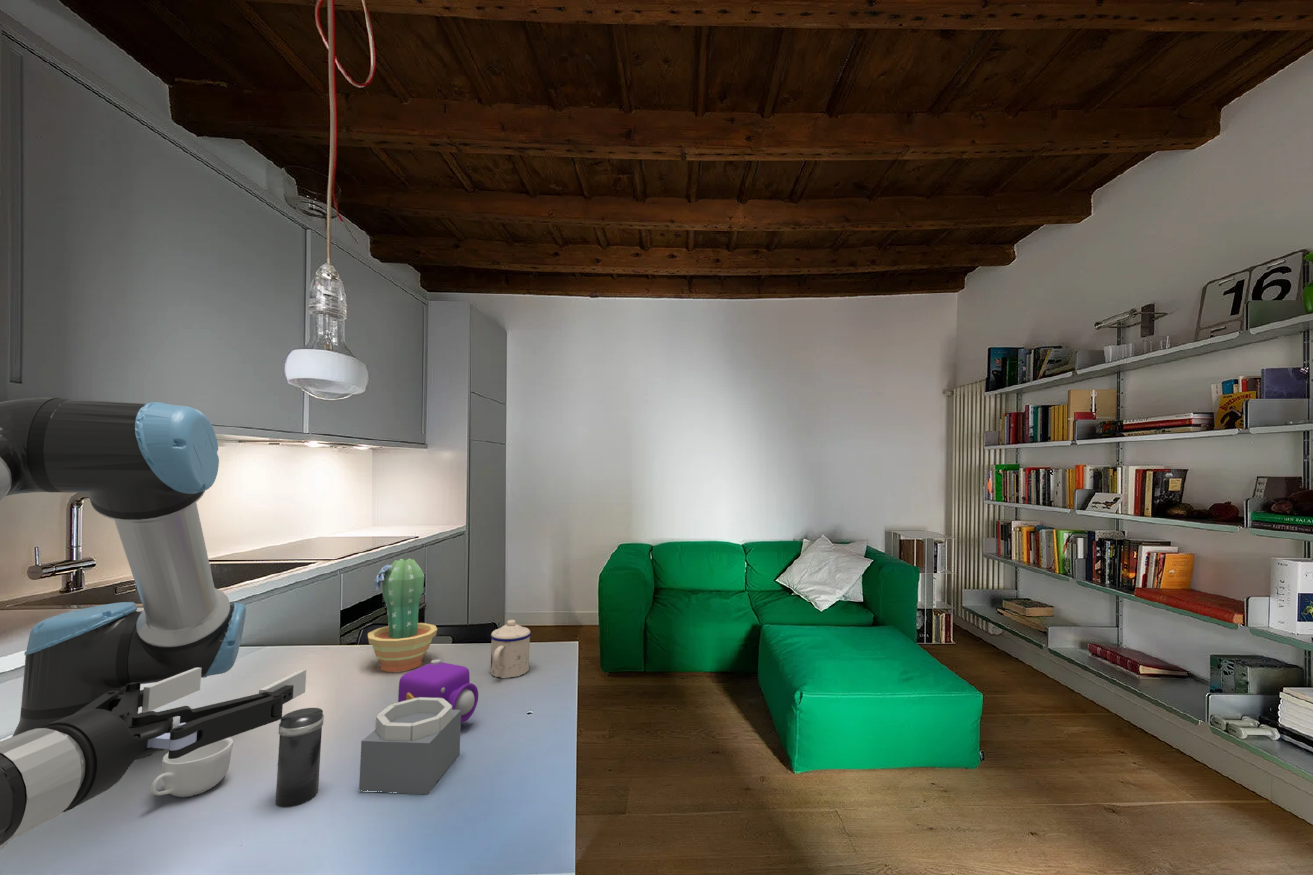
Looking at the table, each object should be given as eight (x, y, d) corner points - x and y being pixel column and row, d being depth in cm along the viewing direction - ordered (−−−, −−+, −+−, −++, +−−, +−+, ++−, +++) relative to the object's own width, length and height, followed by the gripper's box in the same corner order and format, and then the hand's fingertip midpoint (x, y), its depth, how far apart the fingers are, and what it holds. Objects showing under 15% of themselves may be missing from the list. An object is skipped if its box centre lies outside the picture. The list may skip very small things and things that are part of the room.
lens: (264, 807, 72) (269, 723, 73) (292, 784, 77) (297, 706, 78) (301, 808, 72) (307, 724, 73) (327, 786, 77) (332, 707, 78)
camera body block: (358, 791, 76) (362, 726, 76) (399, 752, 87) (402, 695, 87) (427, 794, 75) (430, 728, 76) (459, 754, 86) (461, 697, 87)
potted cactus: (398, 652, 136) (402, 553, 138) (449, 657, 132) (453, 556, 134) (348, 673, 121) (354, 562, 123) (405, 680, 117) (410, 566, 119)
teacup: (200, 770, 81) (203, 734, 81) (244, 775, 80) (246, 738, 80) (125, 811, 71) (129, 769, 71) (174, 817, 70) (177, 774, 70)
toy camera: (457, 742, 90) (459, 681, 91) (387, 733, 93) (390, 675, 94) (489, 714, 101) (491, 660, 102) (425, 707, 104) (427, 655, 104)
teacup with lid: (501, 663, 128) (502, 614, 129) (536, 666, 127) (537, 616, 128) (475, 682, 117) (477, 628, 118) (513, 685, 115) (515, 630, 116)
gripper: (-95, 813, 45) (152, 708, 66) (184, 823, 44) (345, 713, 65) (-84, 721, 46) (157, 647, 67) (191, 728, 45) (348, 650, 66)
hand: (250, 679), depth 66 cm, fingers open, 13 cm apart
